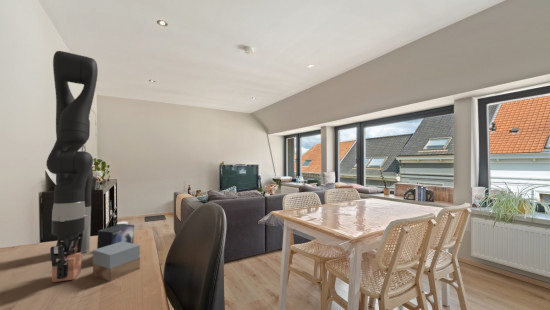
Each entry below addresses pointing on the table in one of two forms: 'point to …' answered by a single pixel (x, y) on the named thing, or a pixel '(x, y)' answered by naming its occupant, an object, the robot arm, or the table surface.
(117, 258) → the tower top
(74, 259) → the terracotta block
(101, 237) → the small box
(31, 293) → the table surface
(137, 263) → the tower base
